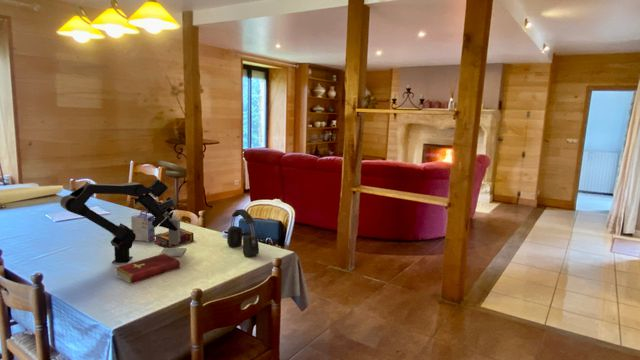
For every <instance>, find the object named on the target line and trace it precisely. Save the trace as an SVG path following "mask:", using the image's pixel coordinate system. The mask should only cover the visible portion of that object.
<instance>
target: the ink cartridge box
mask: <svg viewBox="0 0 640 360" xmlns="http://www.w3.org/2000/svg"><path fill="white" fill-rule="evenodd" d="M147 212H148V211H147V210H140V213H139V214H135V215H132V216H131V217H130V219H131V221H130V222H131V225H130V226H131V228H130V229H132V230H134V231H133V232H134V233H135V235H136V238H135V240H134V241H141V242H150V241H153V240H156V237H155V236H154V235H156V233H155V232H156V231H155V230H156V228H155V227H154V226H153V225H152V221H153V220H155V219H154V218H155V217H154V216H153V215H152V214H150V215H148V213H147Z"/></svg>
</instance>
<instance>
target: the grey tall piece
mask: <svg viewBox="0 0 640 360" xmlns="http://www.w3.org/2000/svg"><path fill="white" fill-rule="evenodd" d="M170 221H171V222H172V223H173V224H174V226H175V227H176V228H177V230H176V231H174V230H171V229H168V231H169V244H178V245H180V244H179V242H180V228H181V218H180V217H177V214H176V213H175V214H174V213H173V215H172V218H170Z"/></svg>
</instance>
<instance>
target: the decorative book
mask: <svg viewBox="0 0 640 360" xmlns="http://www.w3.org/2000/svg"><path fill="white" fill-rule="evenodd" d="M154 236H155V241H154V245H160V246H162V247H164V248H175V247H176V246H178V245H182V244H188V243H189V242H192V241H194V232H191V231H188V230H186V229H185V228H181V227H180V242H179V244H169V230H167V231H165V232H162V233H157V234H156V233H155V235H154Z"/></svg>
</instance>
